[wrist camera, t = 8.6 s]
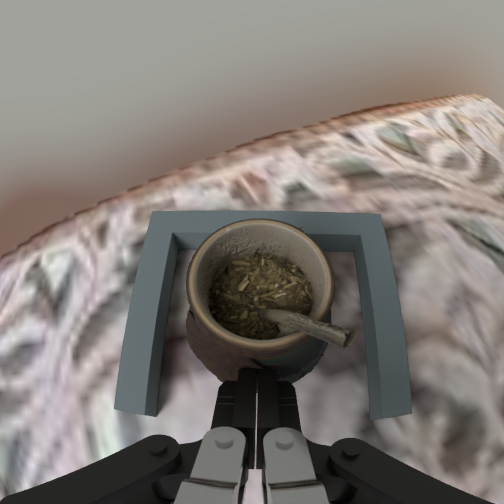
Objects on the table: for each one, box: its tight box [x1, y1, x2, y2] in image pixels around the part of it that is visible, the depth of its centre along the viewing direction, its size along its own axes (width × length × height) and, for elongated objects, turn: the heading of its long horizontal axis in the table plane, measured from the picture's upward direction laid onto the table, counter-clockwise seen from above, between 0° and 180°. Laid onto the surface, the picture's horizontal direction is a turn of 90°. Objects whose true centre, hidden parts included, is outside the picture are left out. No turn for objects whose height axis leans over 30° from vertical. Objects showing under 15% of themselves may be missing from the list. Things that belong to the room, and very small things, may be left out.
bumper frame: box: [114, 211, 412, 420], centre depth 18 cm, size 16×13×2 cm
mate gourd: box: [186, 218, 357, 393], centre depth 14 cm, size 7×8×10 cm
